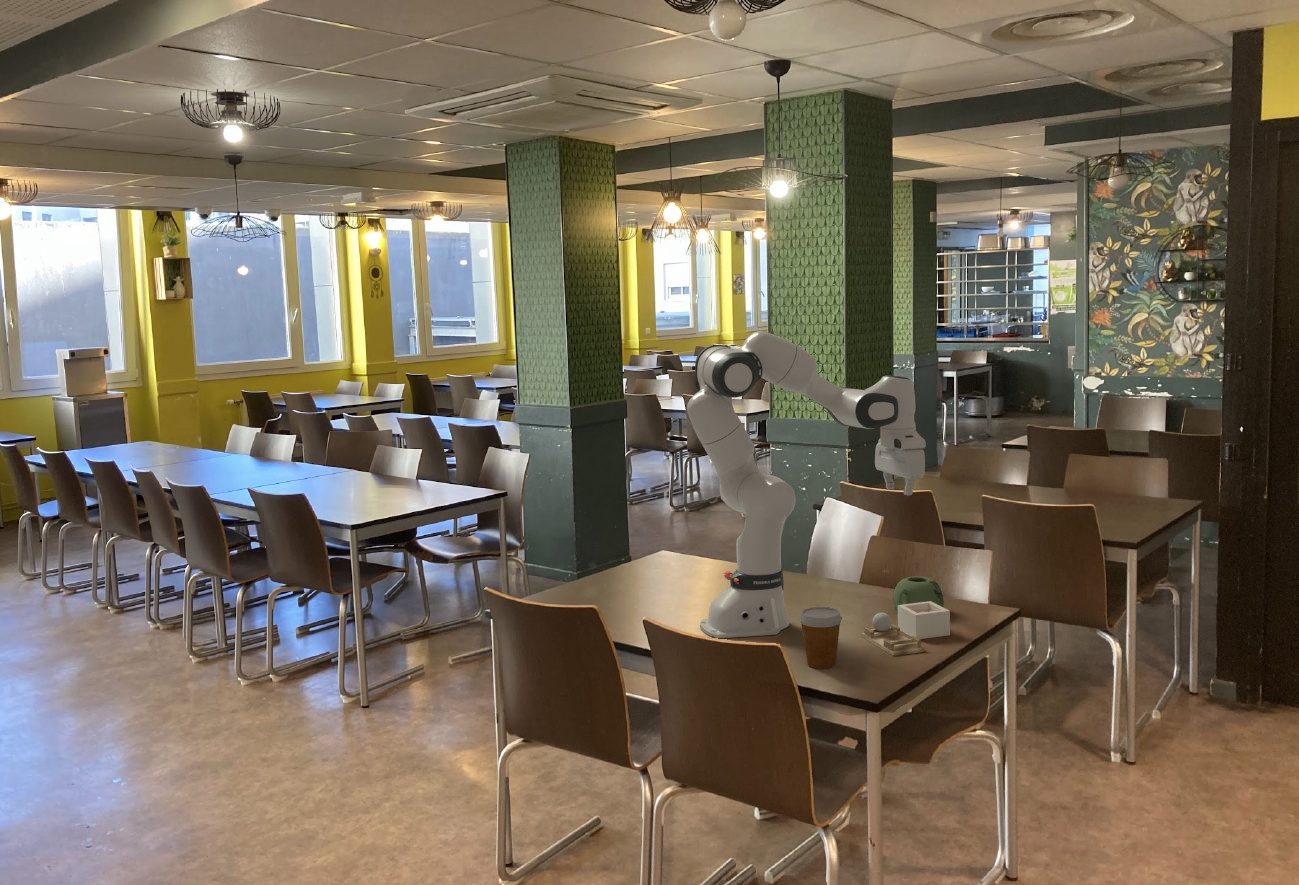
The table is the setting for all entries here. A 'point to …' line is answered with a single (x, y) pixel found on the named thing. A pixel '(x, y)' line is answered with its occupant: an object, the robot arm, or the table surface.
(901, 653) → the rack
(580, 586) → the table surface
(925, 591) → the green rounded piece
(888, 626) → the grey ball
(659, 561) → the table surface
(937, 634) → the white open box
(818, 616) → the disposable coffee cup
